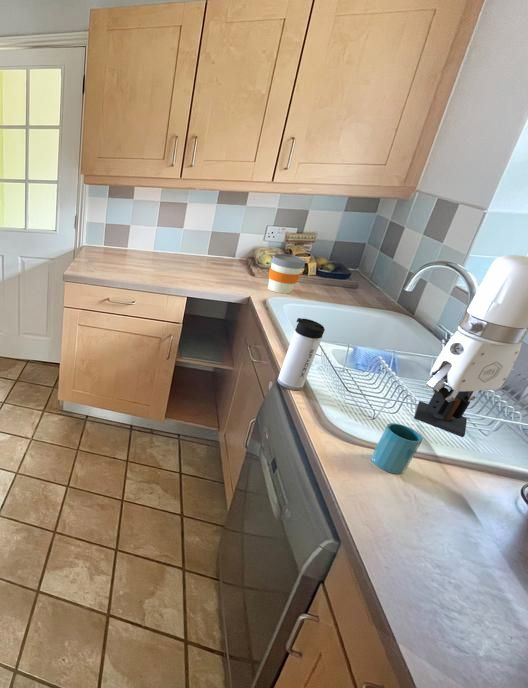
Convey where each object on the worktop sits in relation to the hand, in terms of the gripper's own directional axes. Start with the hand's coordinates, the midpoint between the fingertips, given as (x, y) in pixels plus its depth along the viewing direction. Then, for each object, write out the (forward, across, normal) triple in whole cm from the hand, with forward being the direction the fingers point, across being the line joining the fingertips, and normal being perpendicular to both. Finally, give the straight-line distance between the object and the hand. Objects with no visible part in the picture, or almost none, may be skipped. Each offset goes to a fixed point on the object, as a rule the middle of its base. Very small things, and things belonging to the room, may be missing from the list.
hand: (442, 413), depth 78 cm
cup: (+19, +3, +6) cm, 20 cm away
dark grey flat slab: (+1, 0, 0) cm, 1 cm away
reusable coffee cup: (+19, +51, +105) cm, 118 cm away
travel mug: (+19, +3, +36) cm, 41 cm away
